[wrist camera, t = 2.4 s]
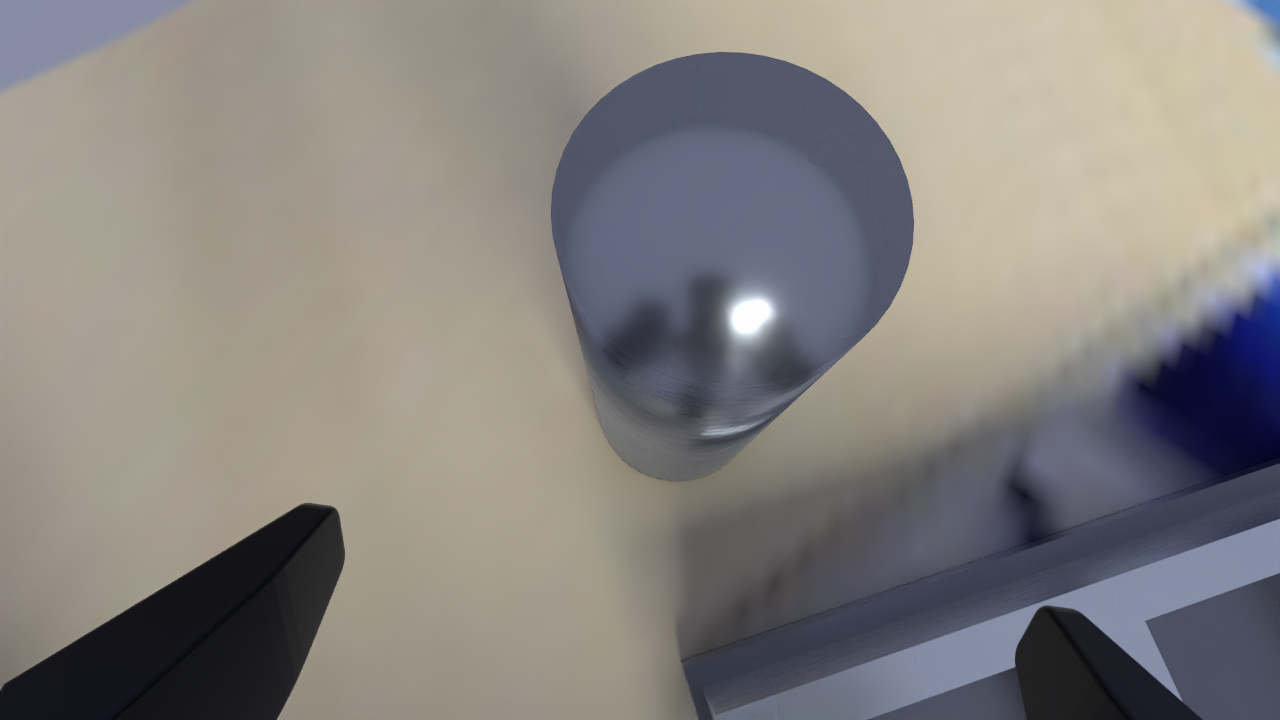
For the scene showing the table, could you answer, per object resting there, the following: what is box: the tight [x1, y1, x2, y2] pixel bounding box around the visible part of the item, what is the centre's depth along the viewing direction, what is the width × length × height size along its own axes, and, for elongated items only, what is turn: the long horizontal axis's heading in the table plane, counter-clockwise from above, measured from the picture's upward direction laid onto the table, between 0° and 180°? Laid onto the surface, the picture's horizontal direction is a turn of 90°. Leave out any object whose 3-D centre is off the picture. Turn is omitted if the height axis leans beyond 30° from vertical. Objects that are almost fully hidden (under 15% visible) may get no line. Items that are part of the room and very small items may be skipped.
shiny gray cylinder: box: [551, 52, 914, 481], centre depth 14 cm, size 4×4×12 cm
